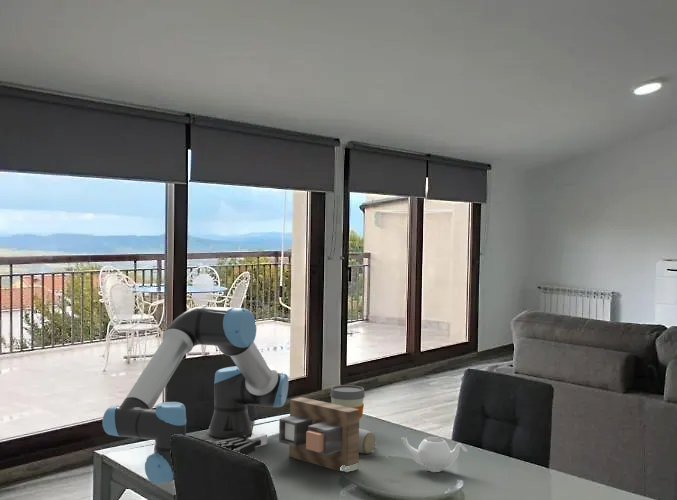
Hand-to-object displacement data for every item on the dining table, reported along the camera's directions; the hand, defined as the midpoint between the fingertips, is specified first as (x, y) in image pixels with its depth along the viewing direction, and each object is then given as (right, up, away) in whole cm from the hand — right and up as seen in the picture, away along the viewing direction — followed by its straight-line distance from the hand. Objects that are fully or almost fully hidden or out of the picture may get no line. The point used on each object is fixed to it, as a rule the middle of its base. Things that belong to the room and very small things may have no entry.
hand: (265, 438), depth 201 cm
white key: (+8, -3, +10) cm, 13 cm away
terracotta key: (+15, -3, -1) cm, 15 cm away
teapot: (+50, -11, +5) cm, 51 cm away
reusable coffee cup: (+24, -10, +49) cm, 56 cm away
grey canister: (+29, -11, +24) cm, 39 cm away
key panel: (+14, -10, +8) cm, 19 cm away
